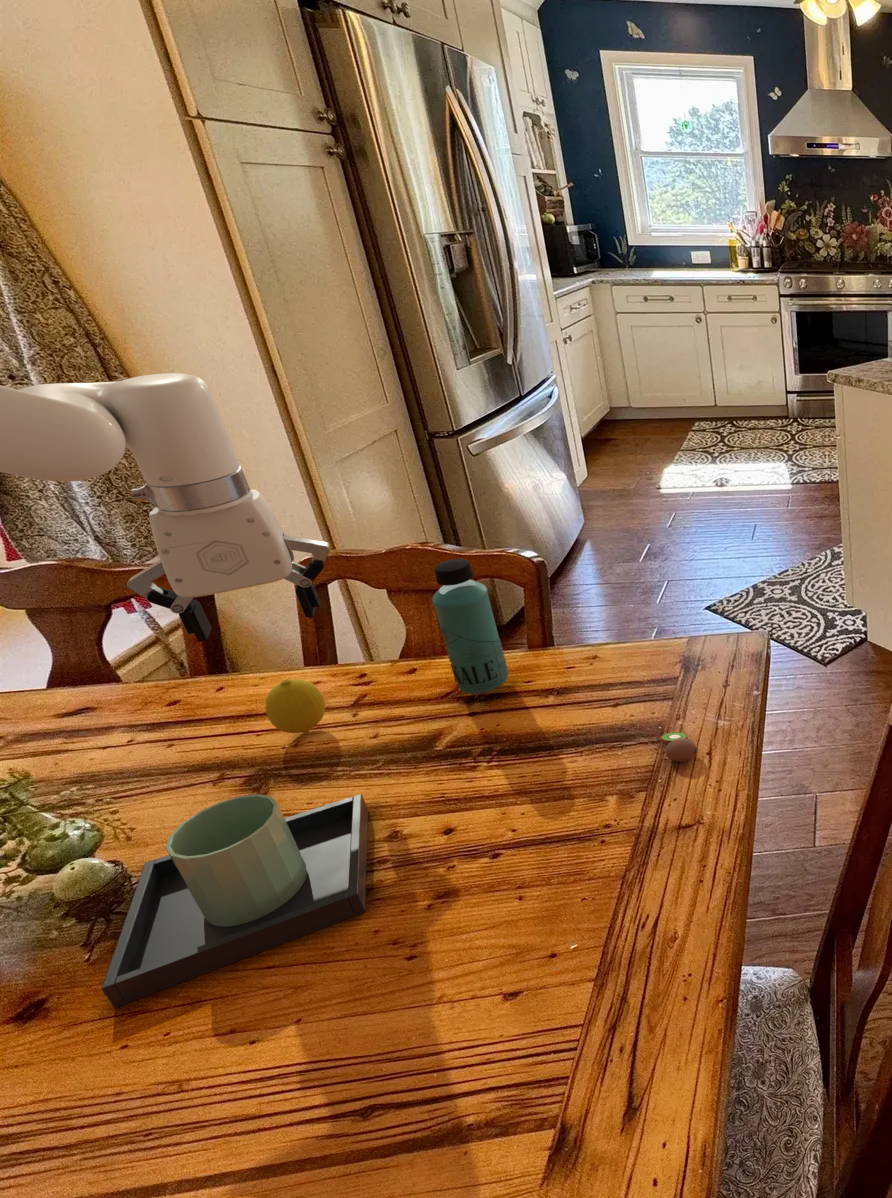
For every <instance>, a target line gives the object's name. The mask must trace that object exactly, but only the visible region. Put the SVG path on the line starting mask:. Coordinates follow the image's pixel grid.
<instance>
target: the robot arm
mask: <svg viewBox="0 0 892 1198" xmlns="http://www.w3.org/2000/svg"><path fill="white" fill-rule="evenodd" d="M232 443H233V442H232V440H231V438H230V436H229V433H228V431H227V429H226V426H225V424H224V422H223V419H222V416H221V414H220V411H219V409H218V406H217V404H216V402H215V399H214V397H213V394H212V392H211V390H210V387H209V386H208V384H207V383H206V382H205V381H204V380H203V379H201V378H200V377H198V376H197V375H195V374H190V373H182V372H167V373H164V372H163V373H155V374H154V373H153V374H145V375H140V376H133V377H129V378H125V379H121V380H116V381H98V382H57V383H54V382H53V383H43V384H34V385H29V386H26V387H22V388H19V389H16V388H12V387H10V386H9V387H8V386H5V385H1V384H0V473H3V474H8V475H13V476H19V477H23V478H30V479H36V480H41V481H48V482H68V483H69V482H81V481H86V480H91V479H95V478H96V477H100V476H102V475H104V474H106V473H108V472H109V471H111V470H112V469H114V468H115V467H116V466H117V465H118V464H119V463H120V462H121V460H122V459H123V457H124V455H125V451H126V449H128V450H129V451H130V452H131V454H132V456H133V458H134V460H135V462H136V464H137V466H138V468H139V471H140V473H141V475H142V477H143V479H144V482H145V484H144V485H143V486H140V487H139V488H132V489H130V495H131V497H132V500H133V501H134V502H140V501H141V502H142V501H144V502H150V503H151V504H153V507H154V508H153V509H152V510H151V511H150V512H149V513H148V517H149V524H150V525H149V526H150V529H151V533H152V538H153V541H154V545H155V547H156V550H157V553H158V557H159V559H158V560H157V561H155V562H154V563H152V564H151V565H149V566H147V567H146V568H144V569H142V570H141V571H138V573H136V574H134V575H132V576H131V577H130V578H129V580H128V581H127V583H126V587H127V588H128V589H130V591H133V592H134V593H136V594H138V595H139V596H141V597H144V598H145V599H146V601H147V602H149V603H151V604H153V605H156V606H160V607H163V608H166V609H168V610H170V612H172V613H173V614H178V616H179V618H180V621H181V622H182V624H183V627H184V628H185V630H186V632H187V634H188V635H192V634H194V637H195V638H196V640H197V642H198V643H202V642H206V641H207V640H208V639H209V637H210V634H211V631H212V626H211V624H210V621H209V619H208V616H207V615H206V613H205V611H204V608H203V607H202V606H203V605H202V604H201V602H200V600H199V601H198V600H197V599H194V598H200V597H207V596H211V595H217V594H222V593H228V592H232V591H237V590H243V589H247V588H252V587H253V588H254V587H257V586H263V585H267V584H271V583H275V582H279V581H281V580H286V581H288V582H290V583H291V584H294V585H296V587H295V594H296V596H297V599H298V601H299V604H300V606H301V609H302V611H303V614H304V617H305V618H308V619H311V618H315V614H316V609H317V607H318V608H319V607H320V606H321V600H320V597H319V594H318V591H317V589H316V587H315V584H314V581H315V579H316V578H318V576H319V575H320V573H322V571H323V570H324V569H325V565H326V561H327V559H328V555H329V552H330V547H331V544H330V543H329V542H326V541H322V540H316V539H311V538H305V537H298V536H291V535H286V533H285V531H284V530H283V527H282V526H281V524H280V522H279V521H278V519H277V517H276V514H275V513H274V511H273V510H272V509H271V507H270V505H269V504H268V502H267V500H266V499H265V498H264V496H263V495H262V494H261V493H260V492H259V491H258V490H257V489H251V487H250V486H249V485H250V484H249V483H248V480H247V478H246V476H245V473H244V470H243V468H242V466H241V463H240V459H238V456H237V453H236V451H235V447H234V445H233V444H232ZM293 551H295V552H300V553H301V552H302V553H308V554H311V555H312V559H311V561H310V562H309V563H308V564H307V566H305V565H302V564H300V563H298V562H296V561H294V560H295V556H294V552H293ZM164 575H165V576H166V578H167V581H168V583H169V586H170V587H171V589H172V590H170V589H167V588H164V587H160V586H157V584H156V583H154V581H156V580H158V579H159V578H161V577H162V576H164Z"/></svg>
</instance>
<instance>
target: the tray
mask: <svg viewBox="0 0 892 1198" xmlns="http://www.w3.org/2000/svg"><path fill="white" fill-rule="evenodd" d="M284 818H285V820H286V823H287V825H288V827H289V829H290V831H291V834H292V836H293V838H294V840H295V842H296V844H297V847H298V849H299V851H300V853H301V855H302V858H303V860H304V862H305V864H306V869H307V876H306V879H305V882H304V884H303V885H302V887H301V888H300V889H299V891H298V892H297V893H296V894H295V895H294V896H293V897H292V898H291V899H289V900H288V901H287V902H286V903H284V904H283V905H282V906H280V907H279V908H277V909H276V910H274V911H272V912H270V913H269V914H267V915H265V916H263V917H260V918H258V919H256V920H253V921H250V922H247V923H244V924H240V925H235V926H227V927H221V926H215V925H212V924H210V923H208V922H207V921H206V919H205V917H204V916H203V914H202V913H201V911H200V909H199V908H198V906H197V904H196V902H195V900H194V899H193V897H192V895H191V893H190V891H189V890H188V888H187V886H186V884H185V882H184V881H183V879H182V877H181V875H180V873H179V872H178V870H177V868H176V866H175V864H174V863H173V861H172V859H171V857H170V855H169V854H168V855H164V856H161V857H158V858H155V859H152V860H149V861H146V862H144V864H143V866H142V871H141V873H140V876H139V878H138V881H137V884H136V887H135V890H134V893H133V896H132V898H131V901H130V905H129V908H128V910H127V913H126V917H125V920H124V922H123V925H122V928H121V931H120V934H119V937H118V940H117V941H116V942H117V943H116V945H115V949H114V952H113V955H112V958H111V959H110V960H111V961H110V963H109V966H108V969H107V971H106V975H105V977H104V979H103V984H102V986H101V990H102V992H103V993H104V995H105V996H106V998H107V999H108V1001H109V1002H110V1004H111V1006H112V1007H113V1009H117V1008H120V1007H122V1006H124V1005H127V1004H131V1003H133V1002H135V1001H137V1000H140V999H142V998H146V997H148V996H151V995H153V994H157V993H159V992H161V991H164V990H166V989H169V988H171V987H174V986H176V985H179V984H182V983H184V982H187V981H190V980H192V979H194V978H198V977H200V976H202V975H205V974H207V973H211V972H214V971H215V970H219V969H221V968H223V967H226V966H229V965H232V964H234V963H236V962H239V961H242V960H244V959H247V958H249V957H252V956H255V955H257V954H260V953H263V952H265V951H268V950H270V949H273V948H275V947H278V946H280V945H283V944H286V943H288V942H292V941H293V940H296V939H299V938H302V937H304V936H307V935H309V934H311V933H314V932H317V931H320V930H322V929H325V928H327V927H330V926H333V925H335V924H337V923H340V922H343V921H346V920H348V919H352V918H353V917H357V916H359V915H362V914H364V913H366V907H367V906H366V905H367V904H366V903H367V874H368V873H367V871H368V869H367V867H368V841H369V840H368V837H369V835H368V833H369V809H368V806H367V804H366V801H365V798H364V796H363V794H362V793H359V794H357V795H353V796H349V797H347V798H343V799H340V800H337V801H334V802H331V803H327V804H324V805H321V806H318V807H315V808H312V809H308V810H306V811H301V812H300V813H296V814H293V815H289V816H286V817H284Z"/></svg>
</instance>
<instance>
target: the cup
mask: <svg viewBox="0 0 892 1198" xmlns="http://www.w3.org/2000/svg"><path fill="white" fill-rule="evenodd" d="M285 818H286V817H285V816H284V814H283V812H282V809H281V807H280V805H279V803H278V802H277V800H276V799H275V798H273V796H270V795H265V794H261V793H254V794H245V795H238V796H236V797H232V798H228V799H225V800H222V801H219V802H216V803H215V804H213V805H211V806H208V807H206V808H204V809H202V810H200V811H197V813H195V814H193V815H192V816H191V817H189V818H188V819H186V820H184V821H183V822H182V823H180V824H179V826H178V827H177V828H176V829H175V830H173V832H172V833H171V834H170V835H169V837H168V839H167V843H166V845H165V851H166V852H167V854H168V855H170V857H171V859H172V861H173V863H174V864H175V866H176V868H177V870H178V872H179V873H180V875H181V877H182V879H183V881H184V882H185V884H186V886H187V888H188V890H189V891H190V893H191V895H192V897H193V899H194V900H195V902H196V904H197V906H198V908H199V909H200V911H201V913H202V914H203V916H204V917H205V919H206V921H207V922H208V923H210V924H212V925H215V926H221V927H227V926H235V925H240V924H244V923H247V922H250V921H253V920H256V919H258V918H260V917H263V916H265V915H267V914H269V913H270V912H272V911H274V910H276V909H277V908H279V907H280V906H282V905H283V904H284V903H286V902H287V901H288V900H289V899H291V898H292V897H293V896H294V895H295V894H296V893H297V892H298V891H299V889H300V888H301V887H302V885H303V884H304V882H305V879H306V876H307V869H306V864H305V862H304V860H303V858H302V855H301V853H300V851H299V849H298V847H297V844H296V842H295V840H294V838H293V836H292V834H291V831H290V829H289V827H288V825H287V823H286V820H285Z"/></svg>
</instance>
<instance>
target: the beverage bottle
mask: <svg viewBox="0 0 892 1198" xmlns="http://www.w3.org/2000/svg"><path fill="white" fill-rule="evenodd" d="M434 574H435V581H436V583H437V584H438V585H440V586H441V587H440V588H439V589H438V590H437V591H436V592H435V593H434V595H433V597H432V599H431V600H432V601H431V602H432V605H434V610H435V612H436V618H437V622H438V623H437V625H438V629H439V630H440V633H441V634H440V636H441V638H442V639H443V642H444V647H445V652H446V655H447V658H448V660H449V662H450V667H451V672H452V675H453V677H454V682H455V686H456V687H457V688H458V689H459V690H460V691H461V692H463V693H464V694H471V695H475V694H483V693H487V692H489V691H492V690H495V689H497V688H499V687H501V686H502V685H503V684H504V683H506V681H507V680H508V678H509V674H510V672H509V667H508V662H507V660H506V656H505V653H504V648H503V645H502V641H501V638H500V636H499V632H498V628H497V624H496V620H495V617H494V612H493V608H492V604H491V601H490V597H489V593H488V592H489V591H488V588H487V586H486V585H485V584H483V583H481V582H479V581H476V580H474V579H472V578H473V577H474V576H475V573H474V570H473V569H472V566H471V563H470V561H469V560H468V559H465V558H451V559H447V560H444V561H442V562H440V563H438V564H437V565H436V566H435V567H434Z"/></svg>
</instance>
